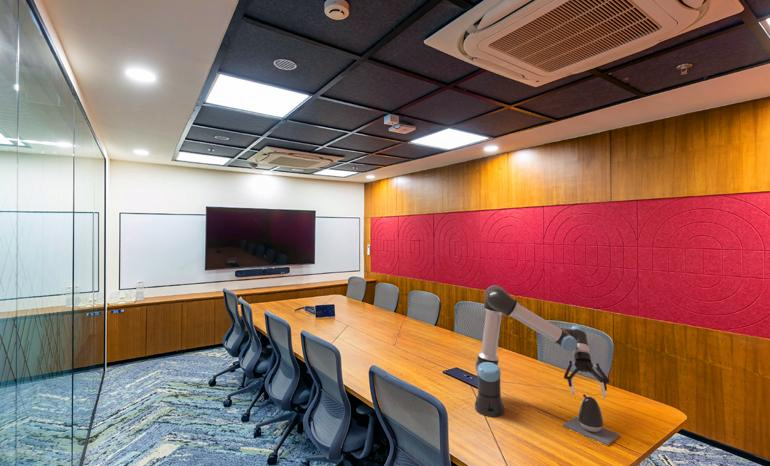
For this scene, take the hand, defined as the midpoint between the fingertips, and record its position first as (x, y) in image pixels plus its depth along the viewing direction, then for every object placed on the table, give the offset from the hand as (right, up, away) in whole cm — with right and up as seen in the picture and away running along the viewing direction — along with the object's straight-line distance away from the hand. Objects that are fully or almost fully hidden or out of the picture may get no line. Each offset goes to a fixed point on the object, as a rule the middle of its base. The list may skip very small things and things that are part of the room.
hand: (588, 395), depth 172 cm
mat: (-2, -15, -5) cm, 16 cm away
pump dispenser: (-2, -14, -5) cm, 15 cm away
